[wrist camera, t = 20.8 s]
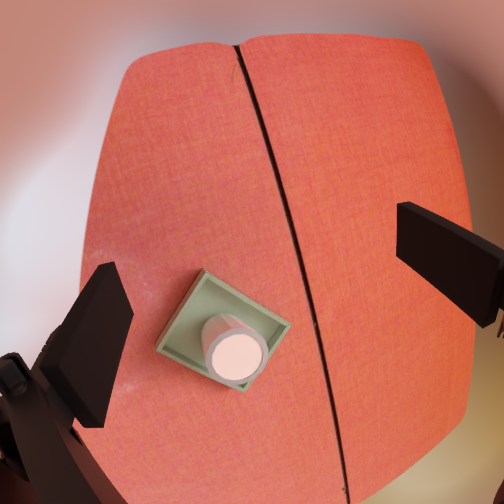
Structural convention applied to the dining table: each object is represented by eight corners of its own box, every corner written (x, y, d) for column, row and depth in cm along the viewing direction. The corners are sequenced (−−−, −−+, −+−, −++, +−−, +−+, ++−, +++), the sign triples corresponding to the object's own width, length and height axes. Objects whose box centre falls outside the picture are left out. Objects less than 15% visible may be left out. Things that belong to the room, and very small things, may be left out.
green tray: (154, 343, 36) (155, 350, 34) (202, 268, 37) (205, 271, 34) (239, 385, 40) (244, 393, 38) (285, 319, 41) (292, 324, 39)
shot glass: (229, 367, 39) (245, 394, 32) (185, 343, 36) (193, 369, 30) (259, 325, 39) (281, 345, 32) (216, 298, 37) (230, 316, 30)
